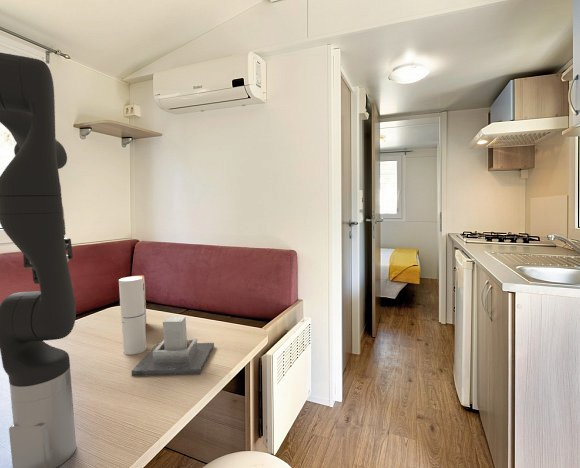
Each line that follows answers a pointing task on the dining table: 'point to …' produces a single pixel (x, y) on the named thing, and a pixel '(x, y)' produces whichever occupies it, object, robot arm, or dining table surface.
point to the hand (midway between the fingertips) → (51, 279)
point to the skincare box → (175, 333)
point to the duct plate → (174, 360)
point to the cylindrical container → (132, 315)
